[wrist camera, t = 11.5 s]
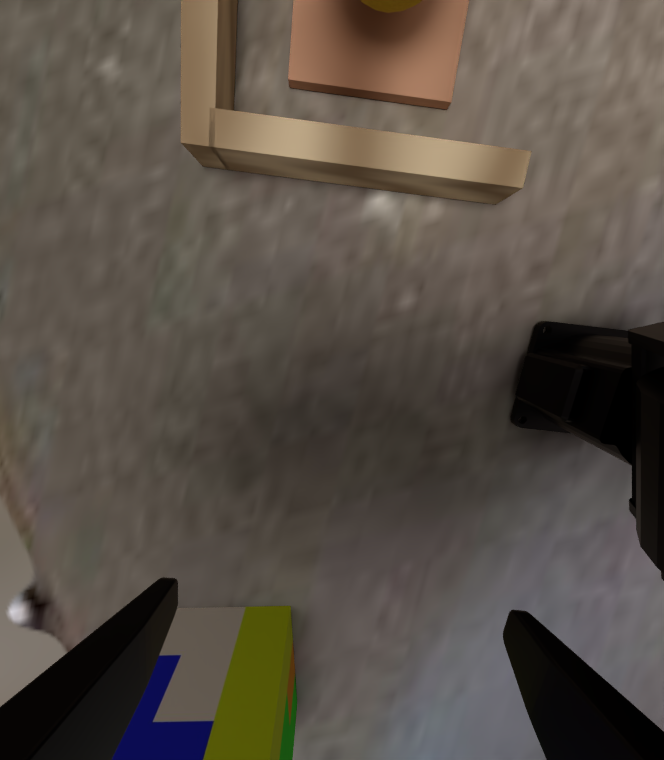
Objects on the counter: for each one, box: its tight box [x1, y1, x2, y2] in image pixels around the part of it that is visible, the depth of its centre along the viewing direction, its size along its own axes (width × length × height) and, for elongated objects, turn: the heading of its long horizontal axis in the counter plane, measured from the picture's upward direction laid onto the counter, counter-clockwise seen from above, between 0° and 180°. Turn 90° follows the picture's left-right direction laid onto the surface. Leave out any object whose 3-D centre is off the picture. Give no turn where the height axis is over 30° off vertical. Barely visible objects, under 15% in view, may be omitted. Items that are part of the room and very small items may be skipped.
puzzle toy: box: [112, 606, 297, 760], centre depth 20 cm, size 10×10×10 cm
